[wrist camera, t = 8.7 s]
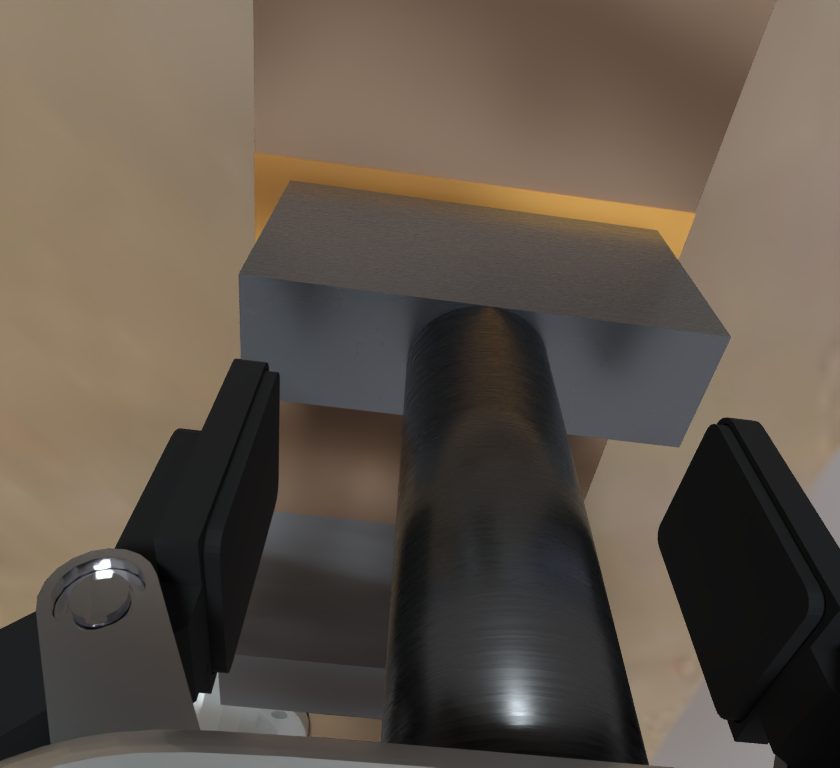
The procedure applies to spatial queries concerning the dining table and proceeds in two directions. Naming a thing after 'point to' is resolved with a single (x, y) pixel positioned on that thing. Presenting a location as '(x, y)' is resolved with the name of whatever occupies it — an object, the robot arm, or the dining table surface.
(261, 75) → the press base
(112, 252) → the dining table surface
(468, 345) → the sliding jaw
